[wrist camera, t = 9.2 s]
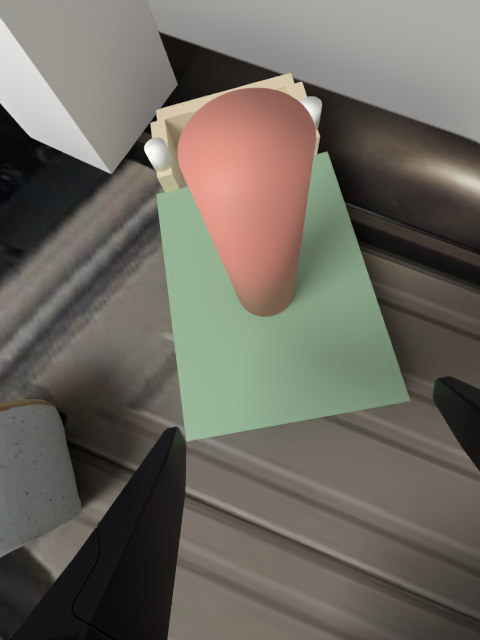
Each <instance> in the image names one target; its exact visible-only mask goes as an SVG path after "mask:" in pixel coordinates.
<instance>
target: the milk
mask: <svg viewBox="0 0 480 640" xmlns="http://www.w3.org/2000/svg"><path fill="white" fill-rule="evenodd" d="M177 85H178V84H177V81H176V79H175V76H174V73H173V70H172V68H171V65H170V62H169V60H168V57H167V54H166V51H165V49H164V46H163V43H162V41H161V38H160V35H159V32H158V30H157V27H156V24H155V22H154V19H153V16H152V13H151V11H150V8H149V5H148V3H147V0H0V103H1V104H2V105H3V107H4V108H5V109H6V110H7V111H8V112H9V113H10V114H11V116H12V117H13V118H14V119H15V120H16V121H17V122H18V123H19V125H20V126H21V127H22V128H23V129H24V130H25V131H26V133H27V134H28V135H29V136H30V137H32V138H34V139H36V140H38V141H40V142H42V143H45V144H47V145H49V146H51V147H53V148H56V149H58V150H60V151H62V152H64V153H66V154H69V155H71V156H73V157H75V158H77V159H80V160H82V161H84V162H86V163H88V164H91V165H93V166H95V167H97V168H99V169H101V170H104V171H106V172H108V173H110V174H112V173H113V172H114V170H115V169H116V168H117V166H118V165H119V164H120V162H121V161H122V160H123V158H124V157H125V155H126V154H127V153H128V151H129V150H130V149H131V147H132V146H133V145H134V143H135V142H136V141H137V139H138V138H139V136H140V135H141V134H142V132H143V131H144V130H145V128H146V127H147V126H148V124H149V123H150V122H151V120H152V119H153V117H154V116H155V115H156V110H158V109H160V108H161V107H162V105H163V104H164V103H165V101H166V100H167V98H168V97H169V96H170V94H171V93H172V92H173V90H174V89H175V88H176V86H177Z"/></svg>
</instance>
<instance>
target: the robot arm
mask: <svg viewBox="0 0 480 640" xmlns="http://www.w3.org/2000/svg"><path fill="white" fill-rule="evenodd" d="M433 400H434V402H435V404H436V406H437V407H438V409H439V411H440V412H441V414H442V416H443V417H444V419H445V421H446V422H447V424H448V426H449V427H450V429H451V431H452V432H453V434H454V436H455V437H456V439H457V441H458V442H459V444H460V445H461V447H462V448H463V449H464V451H465V452H466V454H467V455H468V456H469V458H470V459H471V460H472V462H473V463H474V464H475V466H476V467H477V468H478V470H479V471H480V389H477V388H475V387H473V386H471V385H469V384H466V383H464V382H462V381H460V380H458V379H455V378H453V377H450V376H447V377H441V378H437V379H436V380H435V385H434V391H433ZM185 486H186V442H185V439H184V437H183V435H182V433H181V431H180V429H179V428H178V427H171V428H167V429H166V430H165V431H164V432H163V434H162V435H161V437H160V438H159V439H158V441H157V442H156V444H155V445H154V447H153V448H152V449H151V451H150V452H149V454H148V455H147V456H146V458H145V459H144V461H143V462H142V463H141V465H140V466H139V468H138V469H137V470H136V472H135V473H134V475H133V476H132V477H131V479H130V480H129V482H128V483H127V484H126V486H125V487H124V489H123V490H122V491H121V493H120V494H119V496H118V497H117V499H116V500H115V501H114V503H113V504H112V506H111V507H110V508H109V510H108V511H107V513H106V514H105V515H104V517H103V518H102V520H101V521H100V522H99V524H98V525H97V528H95V529H94V531H93V532H92V533H91V535H90V536H89V538H88V539H87V541H86V542H85V543H84V545H83V546H82V547H81V549H80V550H79V551H78V553H77V554H76V555H75V557H74V558H73V560H72V561H71V562H70V563H69V565H68V566H67V567H66V568H65V570H64V571H63V572H62V574H61V575H60V576H59V577H58V579H57V580H56V581H55V582H54V584H53V585H52V586H51V587H50V589H49V590H48V591H47V592H46V594H45V595H44V596H43V597H42V598H41V600H40V601H39V602H38V603H37V605H36V606H35V607H34V608H33V610H32V611H31V612H30V613H29V614H28V616H27V617H26V618H25V619H24V621H23V622H22V623H21V624H20V626H19V627H18V628H17V629H16V630H15V632H14V633H13V634H12V635H11V636H10V638H9V639H8V640H167V638H168V630H169V621H170V613H171V605H172V597H173V589H174V581H175V572H176V564H177V556H178V548H179V540H180V532H181V524H182V515H183V507H184V499H185Z"/></svg>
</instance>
